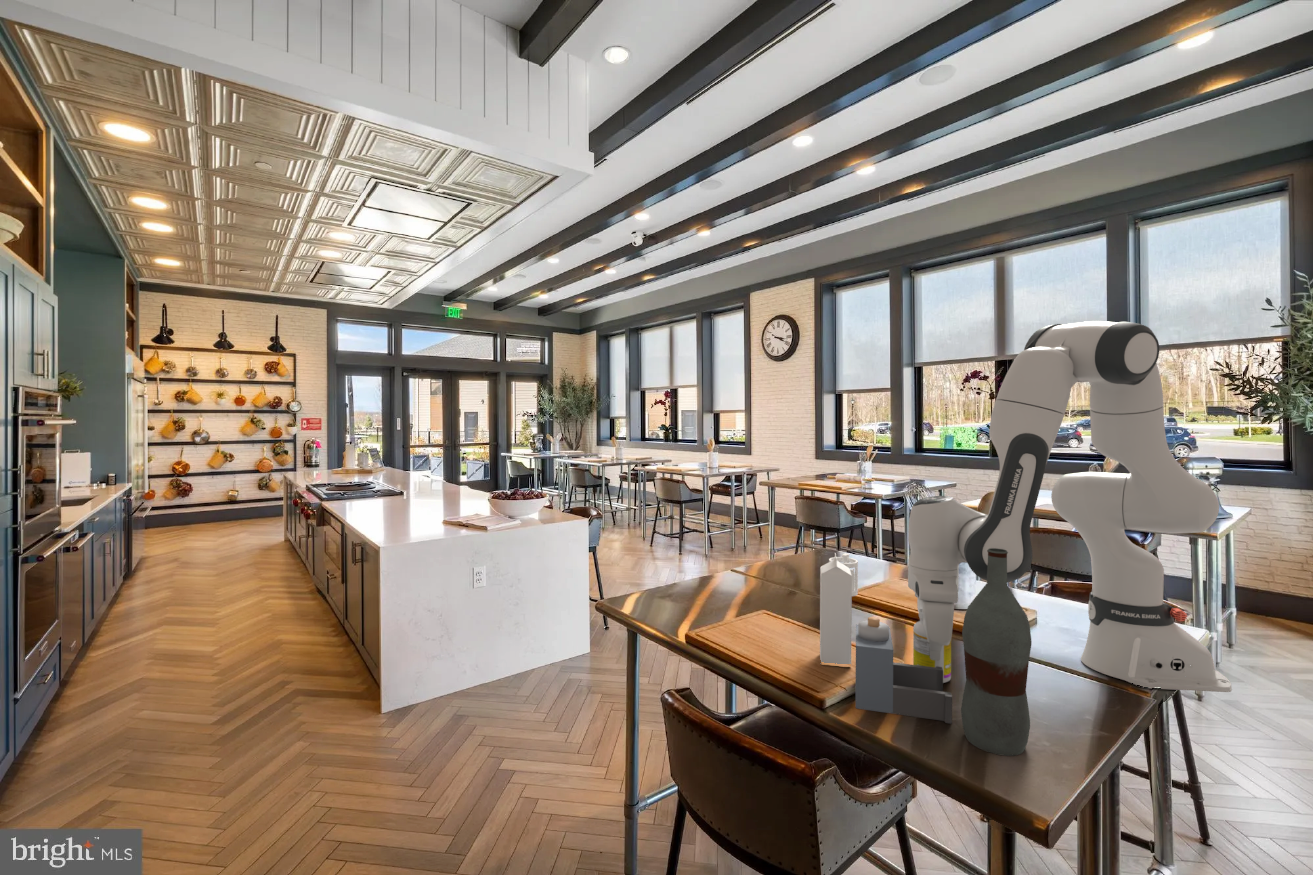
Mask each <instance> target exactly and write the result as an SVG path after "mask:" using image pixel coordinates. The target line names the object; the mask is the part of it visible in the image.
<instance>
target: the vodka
mask: <svg viewBox="0 0 1313 875" xmlns="http://www.w3.org/2000/svg"><path fill="white" fill-rule="evenodd" d="M987 552H988V567H987V581H986V584H985V585H984V586H983V587H982V588H981V589H980V591H979V593H977V595H976V596H975V597H974V599H973V600H972V601H971V602H970V603H969V605H968V606H967V608H966V611H965V614H964V618H963V624H962V632H961V635H962V643H963V644H962V645H963V653H964V654H963V655H964V669H965V683H964V684H965V685H964V689H963V695H962V702H961V708H960V712H961V720H962V721H961V723H962V729H963V732H964V735H965V737H966V740H967V741H968V742H969V743H970V744H971V745H973V746H974V747H976V748H978V749H980V750H981V751H985V752H988V753H991V754H995V755H1000V756H1007V757H1008V756H1019V755H1022V754H1023V753H1024V752H1025V749H1026V747H1027V744H1028V742H1029V735H1030V729H1031V719H1030V718H1031V717H1030V710H1029V702H1028V696H1027V683H1028V673H1029V663H1030V656H1031V650H1032V634H1031V625H1030V622H1029V618H1028V615H1027V613H1026V612H1025V610H1024V609H1023V607H1022V606H1021V604H1020V602H1019V601H1018V600H1017V598H1016V597H1015V595H1014V594H1013V592H1012V591H1011V589H1010V587H1009V586H1008V583H1007V553H1008V552H1007V550H1004V549H998V548H989V549H988V550H987Z"/></svg>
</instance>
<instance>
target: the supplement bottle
mask: <svg viewBox="0 0 1313 875" xmlns="http://www.w3.org/2000/svg"><path fill="white" fill-rule="evenodd" d="M918 617H919V620H918V621H916V622H915V623H914V625H913V631H912V633H913V638H912V639H913V644H912V645H913V646H912V647H913V648H912V650H913V658H912V659H913V664H912V665H919V666H927V667H936V666H938V667H942V669H943V684H944V683H948V682H950V680H951V679H952V640H951V641H950V644H949V645H942V648H941V658H940V660H939V661H936V660H931V659H930V656H929V648H930V645H929V642H928V640H927V637H926V634H925V631H924V627H923V611H922V609H920V610H919V612H918Z"/></svg>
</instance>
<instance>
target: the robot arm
mask: <svg viewBox="0 0 1313 875" xmlns="http://www.w3.org/2000/svg"><path fill="white" fill-rule="evenodd" d="M1159 344H1160V343H1159V340H1158V338H1157V336H1156V335H1155V333H1154V332H1153V330H1152V329H1151V328H1150V327H1148V326H1147V325H1144V324H1143V323H1138V322H1137V323H1136V322H1131V321H1119V322H1115V321H1104V320H1090V321H1087V320H1086V321H1083V322H1073V323H1067V324H1063V323H1055V324H1051V325H1050V324H1049V325H1047V326H1044V327H1042V328H1039V329H1037V330H1036V331H1034V332H1033V334H1032V335H1031V336H1030V337H1029V338H1028V340H1027V342H1026V344H1025V346H1024V349H1023V350H1022V351H1020V352H1019V353H1018V354H1017V356H1015V358H1014V360H1013V362H1012V363H1011V365H1010V367H1009V368H1008V371H1007V372H1006V374H1005V376H1004V378H1003V380H1002V383H1001V386H1000V388H999V391H998V393H997V396H996V398H995V402H994V404H993V407H992V412H991V416H990V421H989V423H990V424H989V432H988V433H989V438H990V441H991V442H992V445H993V447H994V449H995V450H996V453H997V456H998V461H999V462H998V463H999V472H998V478H997V482H996V485H995V489H994V492H993V496H992V500H991V504H990V507H989V510H988V513H983V512H980V511H977V510H975V509H973V508H970V507H969V506H967V505H965V504H963V503H961V502H960V501H958V500H957V499H955V497H953V496H950V495H934V496H933V495H931V496H926V497H923V498H921V499H918V500H916V501H915V503H913V504H912V507H911V509H910V512H909V513H910V515H909V522H908V538H907V539H908V540H907V541H908V544H909V548H910V553H909V556H908V557H909V558H908V563H907V564H908V565H907V568H908V570H907V586H908V588H909V589H911V590H912V591H913V592H914V596H915V597H916V598H917V601H916V604H917V611H918V612H917V613H919V610H920V609H922V611H923V627H924V631H925V634H926V637H927V640H928V642H929V645H930V648H929V656H930V659H931V660H936V661H939V660H940V658H941V648H942V645H949V644H950V641H951V642H952V637H953V636H952V635H953V626H954V615H955V604H958V603H959V576H960V575H959V574H960V573H959V572H960V571H959V568H960V566H959V565H960V564H961V563H967V565H968V567H969V569H970V570H971V572H973V573H974V574H975V575H976V576H977V577H978V578H980V579H982V580H984V581H986V582H987V567H988V552H987V550H988V549H989V548H998V549H1004V550H1007V552H1008V553H1007V584H1008V583H1010V582H1011V583H1012V582H1014V581H1016V580H1019V579H1020V578H1021V577H1023V576H1024V575H1025V574H1026V573H1027V572H1028V570H1029V569H1030V567H1031V565H1032V561H1033V547H1032V540H1031V525H1032V520H1033V518H1034V517H1033V516H1034V512H1035V509H1036V504H1037V501H1038V498H1039V494H1040V490H1041V486H1042V483H1043V479H1044V476H1045V470H1046V466H1047V463H1048V461H1049V458H1050V454H1051V451H1052V449H1053V446H1054V443H1055V441H1056V438H1057V436H1058V433H1059V431H1060V428H1061V426H1062V423H1063V420H1064V417H1065V414H1066V410H1067V408H1068V404H1069V400H1070V397H1071V393H1072V392H1071V391H1072V389H1073V386H1074V385H1075V384H1077V383H1089V386H1090V387H1089V389H1090V390H1089V418H1090V420H1089V421H1090V437H1091V438H1090V439H1091V440H1090V441H1091V444H1092V446H1093V447H1094V449H1095V450H1096V451H1097V452H1098V453H1100V454H1101V455H1102V456H1104V457H1106V458H1108V459H1111V460H1113V461H1115V462H1117V463H1119V464H1120V465H1122V466H1123V467H1125V468H1126V470H1128V472H1129V473H1127V472H1126V473H1124V472H1123V473H1121V472H1104V471H1082V472H1073V473H1066V474H1063V475H1062V476H1060V477H1059V478H1058V479H1057V481H1055V484H1054V485H1053V487H1052V490H1051V502H1052V506H1053V508H1054V510H1055V512H1056V513H1057V514H1058V515H1059V516H1060V518H1062V519H1063V520H1064V521H1066V522H1068V523H1069V524H1070V525H1071V526H1072V527H1073V528H1074V529H1075V530H1076V531H1077V532H1078V534H1079V536H1081V538H1082V539H1083V542H1084V543H1085V544H1086V545H1085V546H1086V547H1087V549H1088V552H1089V555H1090V563H1091V575H1092V576H1091V578H1092V579H1091V580H1092V581H1091V582H1092V583H1091V584H1092V586H1091V587H1092V589H1091V592H1089V598H1088V599H1089V600H1088V603H1087V604H1088V608H1087V609H1088V611H1087V612H1088V619H1089V622H1090V623H1089V630H1088V633H1087V637H1086V638H1087V639H1086V642H1085V646H1084V649H1083V652H1082V654H1081V656H1080V661H1081V662H1082V664H1084V665H1085V666H1087V667H1088V668H1090V669H1092V670H1094V671H1096V672H1099V673H1100V674H1104V675H1107V676H1109V677H1113V678H1115V679H1120V680H1122V681H1126V682H1128V683H1130V684H1132V683H1133V684H1132V685H1135V686H1137V685H1140V686H1143V687H1142V688H1144V687H1161V689H1160V690H1173V691H1174V690H1176V691H1178V690H1179V691H1196V692H1197V691H1198V692H1215V693H1231V692H1232V690H1233V689H1232V683H1231V681H1230V680H1229V679H1228V678H1227V677H1226V676H1224V674H1223V673H1221V672H1220V671H1218V670H1217V669H1216V667H1215V663H1214V659H1213V656H1212V653H1211V652H1210V650H1209V649H1208V648H1207V646H1205V645H1204V644H1203V643H1202V642H1200V641H1199V640H1198V639H1196V638H1195V637H1194V636H1193V635H1191V634H1190V633H1189V632H1187V631H1186V630H1185V629H1183V628H1182V627H1180V626H1179V625H1178V624H1176V623H1175V621H1174V620H1176V621H1178V622H1184V621H1186V620H1187V618H1188V614H1187V612H1186V611H1183V610H1182V609H1180V608H1177V607H1173V606H1171V605H1170V604H1168V603H1166V602H1165V601H1164V582H1165V580H1164V575H1165V569H1164V566H1163V563H1162V562H1161V561H1160V559H1159V558H1158V557H1157V556H1156V555H1154V554H1153V553H1151V551H1148V550H1146V549H1145V548H1142V547H1140V546H1139V545H1136V544H1135V543H1133V542H1132V541H1131V540H1130V539H1129V538H1128V536H1127V535H1126V532H1125V530H1134V531H1144V532H1152V533H1153V532H1154V533H1163V534H1169V535H1170V534H1171V535H1172V534H1194V533H1203V532H1204V531H1206V530H1208V529H1209V528H1210V527H1211V526H1212V525H1213V524H1214V523H1215V521H1216V520H1217V518H1218V515H1219V512H1220V504H1219V499H1218V496H1217V495H1216V492H1214V490H1213V489H1212V487H1210V486H1209V484H1207V483H1206V482H1204V481H1203V480H1200V479H1199V478H1197V477H1195V475H1193V474H1191V473H1189V471H1187V470H1186V469H1185V468H1184V467H1183V466H1182V465H1181V464H1180V463H1179V462H1178V461H1177V460H1176V458H1175V457H1174V456H1173V453H1172V452H1171V450H1170V448H1169V444H1168V441H1167V434H1166V429H1165V428H1166V427H1165V416H1164V414H1165V412H1164V410H1165V409H1164V393H1163V385H1162V380H1161V375H1160V371H1159V368H1158V359H1159V356H1160V345H1159ZM1190 665H1191V666H1190ZM1185 676H1186V677H1185ZM1140 686H1139V687H1140Z"/></svg>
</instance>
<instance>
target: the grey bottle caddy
mask: <svg viewBox="0 0 1313 875" xmlns="http://www.w3.org/2000/svg"><path fill="white" fill-rule="evenodd" d="M855 709H859V710H865V711H873V712H878V713H879V712H880V713H887V714H892V715H893V714H894V715H899V716H901V715H902V716H907V717H913V718H921V719H928V720H935V721H941V722H944V723H945V724H950V725H952V723H953V695H952V693H951V692H949V691H944V683H943V669H942V667H938V666H936V667H927V666H919V665H913V664H911V663H908V664H907V663H903V662H902V663H900V662H894V645H893V638H892V634H891V628H890V626H889V625H888V624H887V623H885V622H881V619H880V618H879V617H876V616H869V617H867V619H866V620H861V621H859V622H858V624H855Z"/></svg>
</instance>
